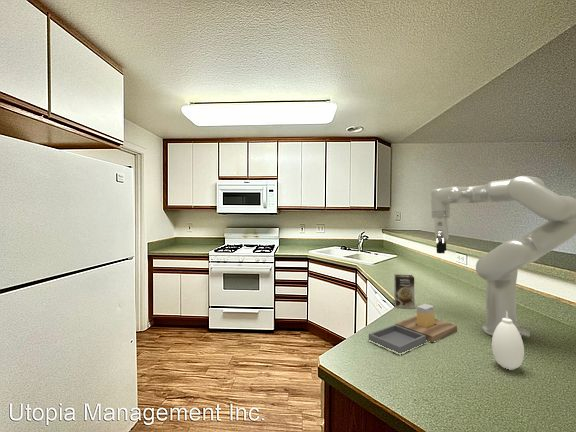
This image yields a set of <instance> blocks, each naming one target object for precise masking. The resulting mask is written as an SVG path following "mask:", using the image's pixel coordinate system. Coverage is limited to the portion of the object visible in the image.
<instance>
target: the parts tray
mask: <svg viewBox="0 0 576 432" xmlns="http://www.w3.org/2000/svg"><path fill="white" fill-rule="evenodd" d="M369 340H371V341H373V342H375V343H378V344H380V345H382V346H384V347H386V348H389V349H391V350H394V351H396V352H398V353H402V352H405V351H407V350H410V349H412V348H414V347H417V346H419V345H421V344H424V343H426V344H427V341H426V336H425V335H422V334H420V333H417V332H414V331H411V330H409V329H406V328H403V327H400V326H397V325H395V324H392V325H389V326H386V327H384V328H381V329H378V330H376V331H373V332H371V333H368V341H369Z"/></svg>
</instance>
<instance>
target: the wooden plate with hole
mask: <svg viewBox="0 0 576 432" xmlns="http://www.w3.org/2000/svg"><path fill="white" fill-rule="evenodd" d="M394 325H397V326H400V327H403V328H406V329H409V330H411V331H414V332H417V333H420V334H422V335H425V336H426V340H427V341H426V342H428V341H430V342H434V341H436V342H438V341H437V340H439V339H441V340H442V338H443V339H445V338H447V337H449V336H452V335H453V334H455V333H457V332H458V325H457V324H454V323H451V322H447V321H443V320H441V319H437V318H435V326H432V327H430V328H428V329H426V328H423V327H420V326H417V315H415V316H413V317H410V318H408V319H405V320H402V321H399V322H396V323H395V324H394ZM444 337H445V338H444ZM439 341H440V340H439ZM430 342H429V343H430ZM434 343H435V342H434Z"/></svg>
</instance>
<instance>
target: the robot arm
mask: <svg viewBox="0 0 576 432" xmlns="http://www.w3.org/2000/svg"><path fill="white" fill-rule="evenodd" d="M430 193H431V194H430V196H431V199H430V201H431V202H430V203H431V206H430V207H431V219H434V237H435V240H436V245H435V246H436V253H437V254H445V253H446V251H447V242H446V241H447V240H448V239H449V238H450V237H449V222H448V219H450V218H451V211H450V209H451V205H450V204H454V205H455V204H474V203H477V204H478V203H499V202H517V203H519V204H520V205H522V207H525V209H528V210H530V211H531V212H532V213H533V214H535V215H536V216H538V217H540V218H541V219H544V220H547V221H546V222H544V223H542V224H541V225H539V226H537V227H536V228H534V229H533V230H532V231H530V232H528V233H527V234H525V235H523V236H521V237H517V238H511V239H509V240H507V241H504V242H503V243H501V244H500V245H498V246H496V247H495V248H494V249H492V250H489V252H487V253H486V254H484V255H483V256H481V257H480V258H479V259H477V261H476V264H475V271H476V273H477V275H478V276H479V278H481V279H483V280H485V281H486V284H485V285H486V287H485V289H486V291H485V292H486V293H485V294H486V296H485V297H486V324H484V325H482V331H483V333H485V334H487V335H489V336H492V337H493V334H494V331H495V329H496V327H497V326H498V324H499V323H500V322H501V321H502V318H506V311H507V312H508V318H509V319H511V320H512V321H513V322H512V323H513V324H514V325H515V326H516V328H517V329H518V331H519V333H520V335H521V338H522V337H527V338H530V336H531V332H530V331H529V329H526V328H523V327H522V328H521V327H520V323H517V279H518V272H519V271H518V270H519V269H520V268H521V267H523V266H526V265H528V264H531V263H534V262H536V261H538V260H539V259H540V258H542V257H543V256H544V255H546V254H549V253H550V252H551V251H553V250H554V249H557V248H558V247H559V246H561V245H563V244H565V243H566V242H568V241H569V240H571V239H573V237H574V236H576V198H574V197H572V196H568V195H559V194H557V193H556V192H554V191H552V190H551V189H549V188H547V187H546V185H545V182H544V181H543V180H542V179H540V178H539V177H536V176H530V175H520V176H516V177H514V178H510V179H509V178H508V179H500V180H492V181H489V182H488V183H486V184H481V185H473V186H456V185H455V186H454V185H452V186H449V187H443V188H442V187H441V188H439V187H438V188H434V189H432V190H431V192H430Z"/></svg>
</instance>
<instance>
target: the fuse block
mask: <svg viewBox="0 0 576 432" xmlns="http://www.w3.org/2000/svg"><path fill="white" fill-rule="evenodd" d="M416 316H417V326H420V327H423V328H426V329H428V328H430V327H432V326H435V319H436V318H435V306H434V305H431V304H427V303H423V304H420V305H418V306H416Z"/></svg>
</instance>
